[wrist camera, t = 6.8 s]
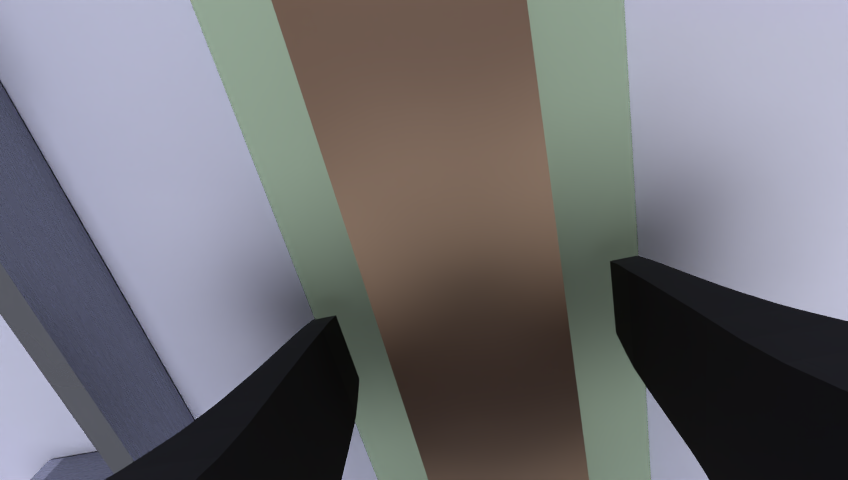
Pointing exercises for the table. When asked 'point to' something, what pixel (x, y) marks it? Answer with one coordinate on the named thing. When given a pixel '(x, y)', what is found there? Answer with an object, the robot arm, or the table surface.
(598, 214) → the mat
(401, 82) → the rail
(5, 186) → the standards
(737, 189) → the table surface
